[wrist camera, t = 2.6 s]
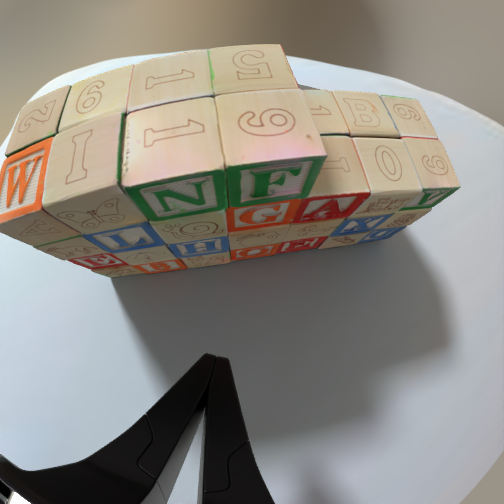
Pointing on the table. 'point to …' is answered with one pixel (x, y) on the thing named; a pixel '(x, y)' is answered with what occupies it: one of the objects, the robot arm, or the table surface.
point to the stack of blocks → (214, 165)
